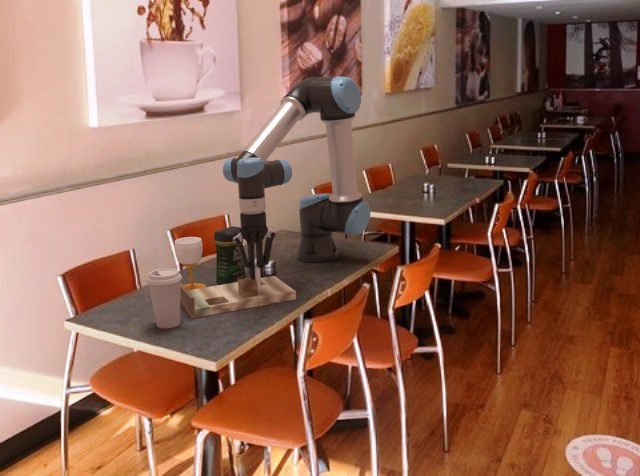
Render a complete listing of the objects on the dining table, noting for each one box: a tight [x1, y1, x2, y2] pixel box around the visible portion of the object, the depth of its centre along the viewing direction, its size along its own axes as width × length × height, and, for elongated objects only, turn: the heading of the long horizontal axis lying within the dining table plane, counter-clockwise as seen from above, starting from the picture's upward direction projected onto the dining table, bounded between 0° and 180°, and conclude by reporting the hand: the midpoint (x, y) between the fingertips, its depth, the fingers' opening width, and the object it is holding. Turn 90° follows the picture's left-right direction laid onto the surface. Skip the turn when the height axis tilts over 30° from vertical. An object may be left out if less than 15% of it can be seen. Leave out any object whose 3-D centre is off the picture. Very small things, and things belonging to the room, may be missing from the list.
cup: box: [174, 236, 207, 290], centre depth 217 cm, size 9×9×16 cm
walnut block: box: [238, 277, 258, 298], centre depth 203 cm, size 4×4×4 cm
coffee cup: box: [146, 267, 183, 329], centre depth 187 cm, size 10×10×15 cm
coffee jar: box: [213, 225, 247, 285], centre depth 221 cm, size 10×8×19 cm
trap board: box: [180, 275, 297, 319], centre depth 206 cm, size 32×18×6 cm, turn 115°
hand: (257, 288), depth 204 cm, fingers closed
